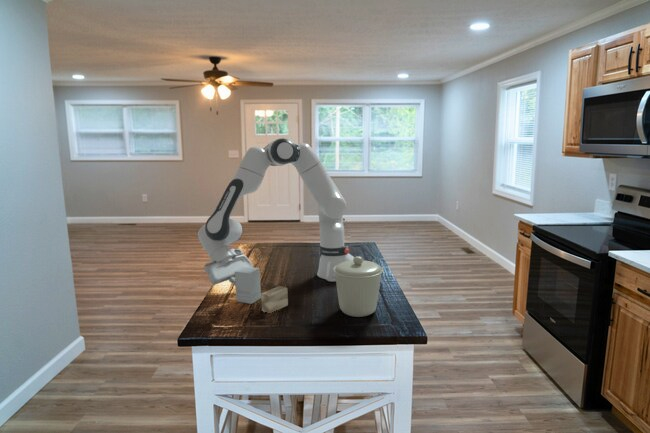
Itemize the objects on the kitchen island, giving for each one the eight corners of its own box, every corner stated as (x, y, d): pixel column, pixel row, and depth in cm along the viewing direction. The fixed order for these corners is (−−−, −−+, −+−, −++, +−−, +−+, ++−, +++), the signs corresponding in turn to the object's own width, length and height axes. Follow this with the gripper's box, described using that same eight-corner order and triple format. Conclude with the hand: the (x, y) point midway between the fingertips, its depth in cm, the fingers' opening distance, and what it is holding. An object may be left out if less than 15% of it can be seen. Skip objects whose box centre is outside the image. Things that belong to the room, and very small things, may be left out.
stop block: (261, 311, 159) (261, 293, 158) (280, 302, 167) (279, 285, 166) (269, 313, 157) (268, 296, 156) (287, 305, 165) (287, 287, 163)
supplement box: (261, 297, 172) (260, 267, 170) (251, 304, 166) (249, 273, 163) (246, 295, 176) (245, 265, 173) (235, 301, 169) (233, 271, 166)
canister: (365, 298, 170) (365, 247, 166) (392, 315, 154) (393, 259, 150) (325, 307, 162) (324, 254, 158) (349, 326, 146) (349, 267, 142)
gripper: (205, 260, 167) (223, 289, 163) (244, 248, 183) (261, 274, 179) (199, 269, 170) (216, 297, 166) (238, 257, 186) (254, 282, 182)
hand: (240, 285), depth 173 cm, fingers closed
